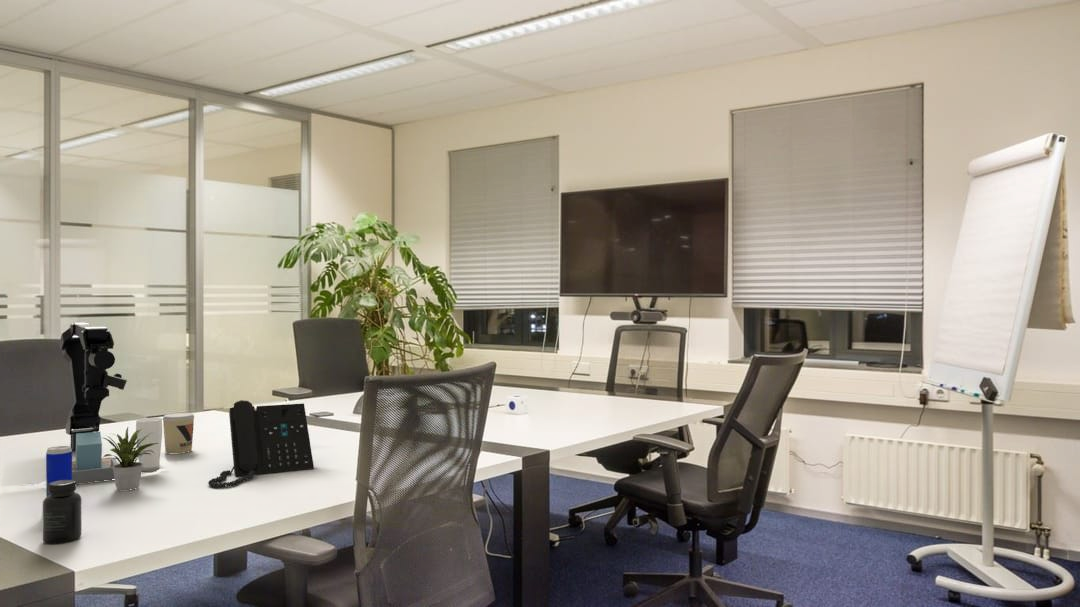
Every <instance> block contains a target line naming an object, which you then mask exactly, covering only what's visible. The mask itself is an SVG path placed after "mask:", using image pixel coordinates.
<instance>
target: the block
mask: <svg viewBox="0 0 1080 607" xmlns="http://www.w3.org/2000/svg"><path fill="white" fill-rule="evenodd" d="M99 437H101V438H99ZM102 441H103V440H102V435H101V431H98V432H90V433H78V434H76V451H75V461H76V469H75V470H76V471H79V470H88V469H97V468H102V466H101V460H102V458H103V457H102V456H103V454H102V453H103V450H102V448H103V447H102V446H103V442H102Z"/></svg>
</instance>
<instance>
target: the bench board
mask: <svg viewBox="0 0 1080 607" xmlns="http://www.w3.org/2000/svg"><path fill="white" fill-rule="evenodd" d="M106 458H107V457H102V460H101V467H103V466H111V458H112V457H111V456H109V457H108V458H109V459H106ZM73 469H75V470H77V469H76V460H74V461H73V460H72V470H73Z"/></svg>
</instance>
